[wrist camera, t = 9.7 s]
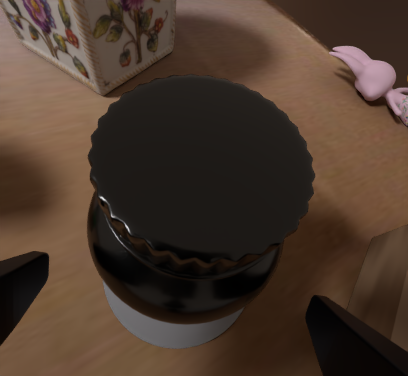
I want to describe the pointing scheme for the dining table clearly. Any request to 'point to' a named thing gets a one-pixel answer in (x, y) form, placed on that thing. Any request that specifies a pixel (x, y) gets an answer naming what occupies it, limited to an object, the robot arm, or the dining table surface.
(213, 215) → the supplement bottle
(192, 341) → the coaster
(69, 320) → the dining table surface
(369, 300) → the walnut box
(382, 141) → the dining table surface
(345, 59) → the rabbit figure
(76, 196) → the dining table surface
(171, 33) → the decorative jar
